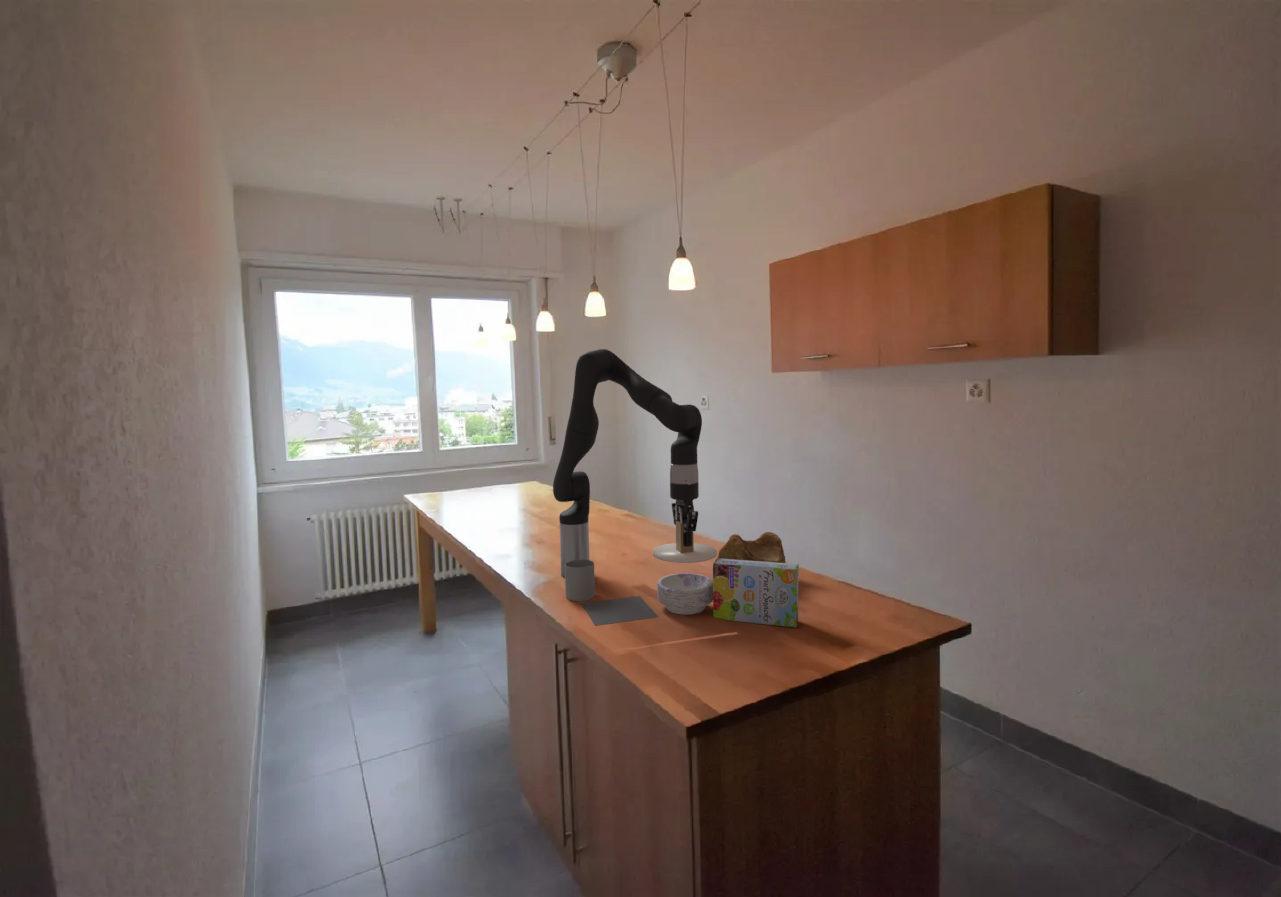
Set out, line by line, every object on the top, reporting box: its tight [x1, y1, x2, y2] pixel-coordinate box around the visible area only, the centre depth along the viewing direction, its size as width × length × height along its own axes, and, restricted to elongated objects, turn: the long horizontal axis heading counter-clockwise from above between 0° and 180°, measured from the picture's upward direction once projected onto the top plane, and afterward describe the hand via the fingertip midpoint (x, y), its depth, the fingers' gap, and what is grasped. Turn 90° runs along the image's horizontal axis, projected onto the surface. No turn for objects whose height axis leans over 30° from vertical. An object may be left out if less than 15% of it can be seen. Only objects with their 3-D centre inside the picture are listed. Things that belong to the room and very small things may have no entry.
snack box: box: [712, 557, 800, 628], centre depth 157 cm, size 21×6×15 cm, turn 71°
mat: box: [580, 595, 660, 627], centre depth 165 cm, size 17×17×1 cm
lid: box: [652, 520, 718, 564], centre depth 164 cm, size 17×17×9 cm
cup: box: [564, 559, 596, 602], centre depth 176 cm, size 8×8×10 cm
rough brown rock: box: [717, 531, 786, 563], centre depth 185 cm, size 23×17×15 cm
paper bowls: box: [656, 572, 713, 616], centre depth 166 cm, size 15×15×8 cm
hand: (684, 543), depth 164 cm, fingers closed on lid, 3 cm apart
